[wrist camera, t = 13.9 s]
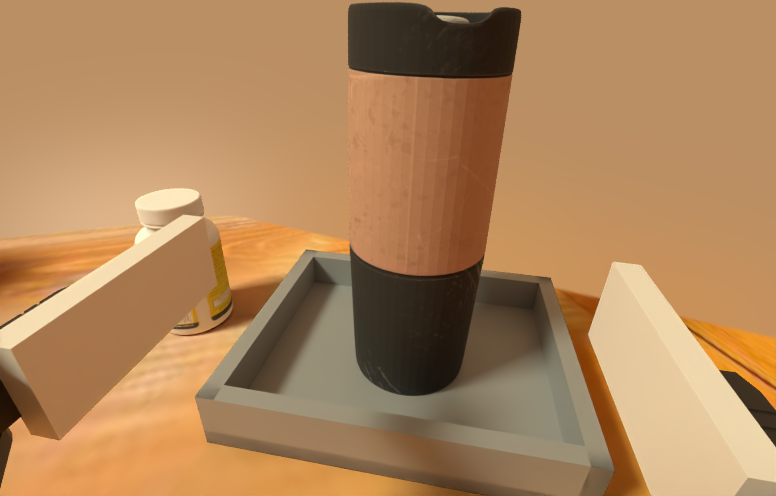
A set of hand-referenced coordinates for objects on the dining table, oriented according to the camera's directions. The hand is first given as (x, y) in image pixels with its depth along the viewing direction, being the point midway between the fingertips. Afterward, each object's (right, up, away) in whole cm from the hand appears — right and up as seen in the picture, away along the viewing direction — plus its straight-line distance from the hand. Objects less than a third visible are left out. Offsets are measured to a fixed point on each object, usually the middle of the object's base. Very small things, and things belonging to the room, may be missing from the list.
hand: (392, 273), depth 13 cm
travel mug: (+1, -7, +14) cm, 15 cm away
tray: (+1, -7, +14) cm, 16 cm away
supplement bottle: (-15, -5, +19) cm, 24 cm away
